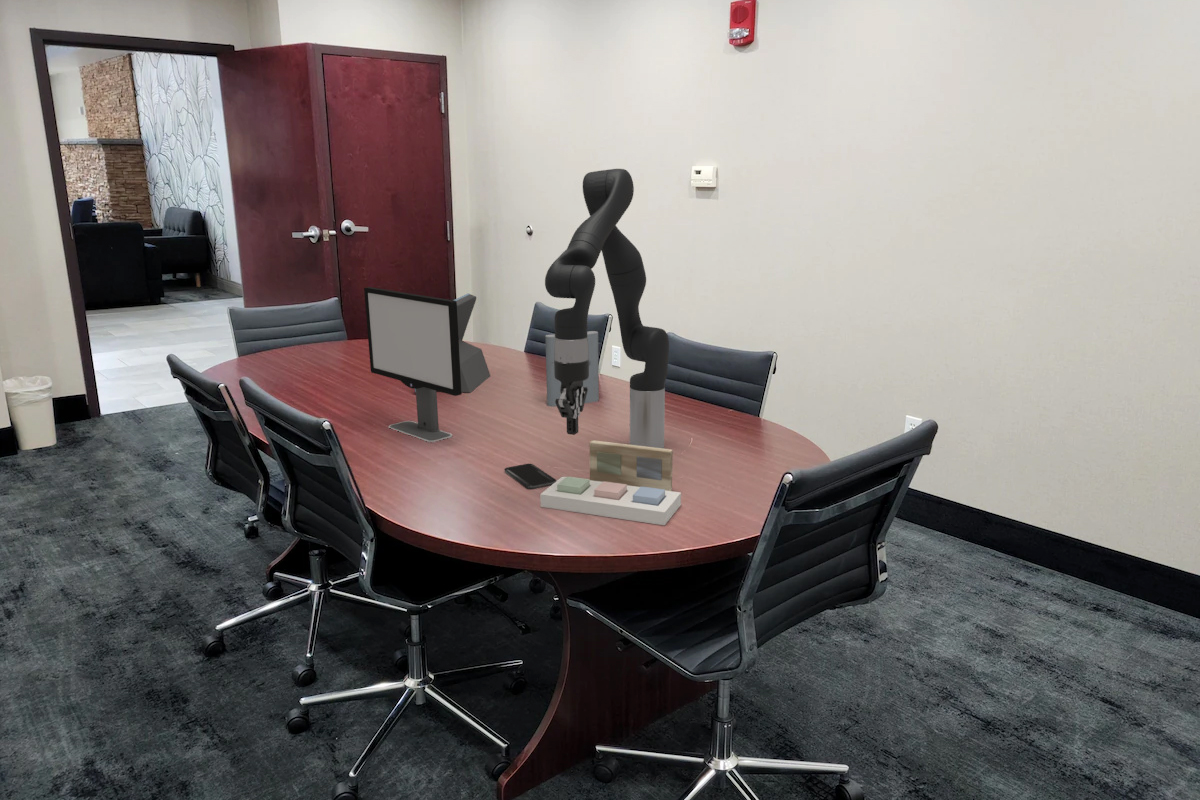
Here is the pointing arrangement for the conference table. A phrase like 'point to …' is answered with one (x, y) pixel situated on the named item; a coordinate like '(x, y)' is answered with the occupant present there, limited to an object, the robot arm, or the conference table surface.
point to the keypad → (612, 504)
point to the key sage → (573, 485)
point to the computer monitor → (415, 351)
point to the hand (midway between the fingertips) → (572, 433)
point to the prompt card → (631, 465)
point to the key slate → (649, 496)
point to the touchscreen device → (469, 349)
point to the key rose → (610, 490)
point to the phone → (530, 476)
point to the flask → (590, 383)
